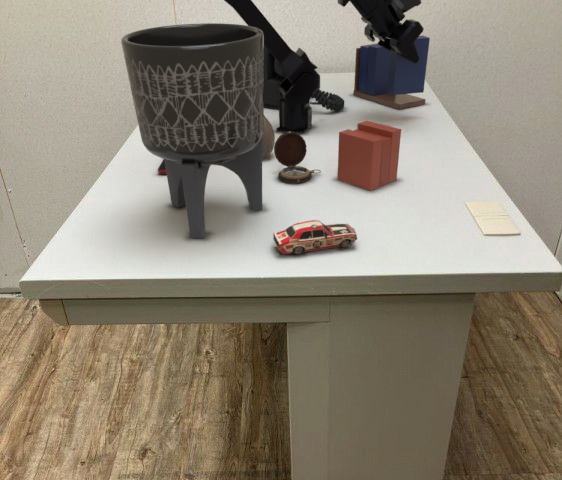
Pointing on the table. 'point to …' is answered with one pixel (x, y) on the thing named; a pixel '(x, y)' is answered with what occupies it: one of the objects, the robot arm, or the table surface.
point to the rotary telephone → (275, 78)
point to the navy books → (374, 69)
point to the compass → (292, 157)
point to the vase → (267, 138)
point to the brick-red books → (369, 155)
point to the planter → (200, 106)
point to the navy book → (408, 70)
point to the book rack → (387, 98)
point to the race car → (313, 237)
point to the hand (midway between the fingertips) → (414, 59)
